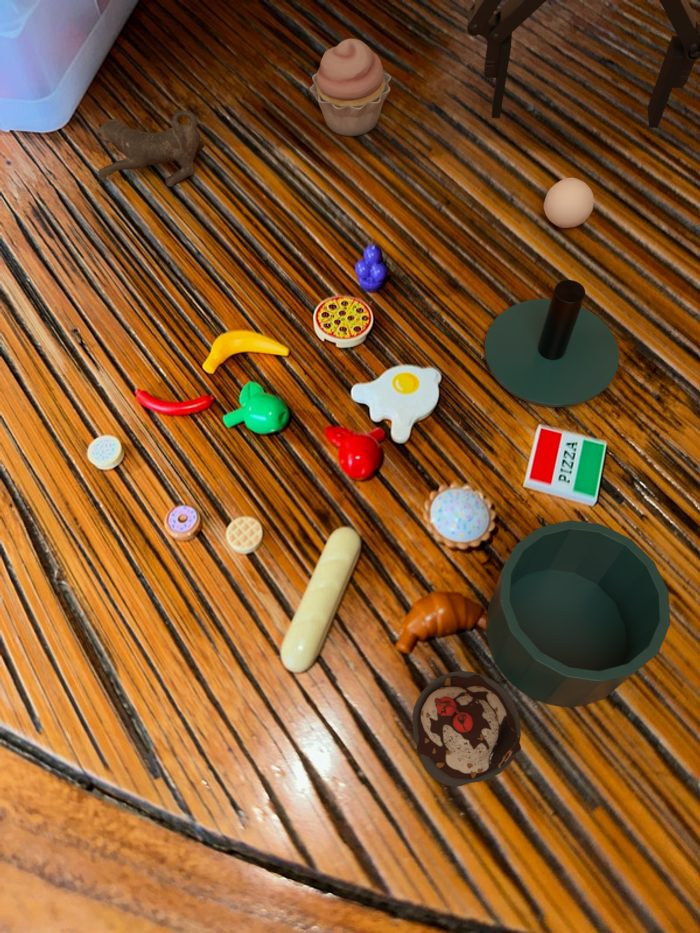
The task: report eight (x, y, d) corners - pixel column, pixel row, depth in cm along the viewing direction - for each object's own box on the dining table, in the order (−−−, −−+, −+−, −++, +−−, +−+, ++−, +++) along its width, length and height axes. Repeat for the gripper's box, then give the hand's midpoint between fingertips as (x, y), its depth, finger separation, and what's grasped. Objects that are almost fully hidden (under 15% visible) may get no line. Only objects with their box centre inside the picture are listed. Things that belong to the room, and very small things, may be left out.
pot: (631, 574, 62) (666, 531, 54) (635, 717, 56) (673, 692, 49) (490, 556, 63) (505, 512, 56) (480, 695, 58) (495, 666, 50)
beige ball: (586, 207, 82) (597, 169, 78) (588, 240, 80) (600, 202, 75) (539, 205, 82) (548, 167, 78) (540, 238, 80) (549, 200, 76)
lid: (615, 312, 75) (643, 243, 67) (617, 418, 69) (647, 357, 61) (487, 300, 76) (500, 231, 68) (478, 403, 70) (491, 341, 62)
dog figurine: (211, 152, 89) (197, 93, 82) (206, 186, 86) (192, 129, 79) (109, 155, 89) (87, 97, 82) (101, 189, 86) (78, 132, 80)
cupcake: (301, 138, 89) (293, 57, 80) (327, 89, 93) (322, 7, 85) (377, 153, 87) (377, 72, 79) (400, 103, 92) (403, 20, 83)
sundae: (392, 724, 57) (396, 676, 44) (474, 690, 58) (501, 633, 45) (428, 814, 54) (443, 792, 41) (514, 777, 55) (556, 743, 42)
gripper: (842, -203, 49) (715, 94, 68) (457, -211, 52) (436, 78, 70) (862, -147, 46) (723, 150, 64) (448, -158, 48) (429, 131, 67)
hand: (573, 113), depth 67 cm, fingers open, 13 cm apart
